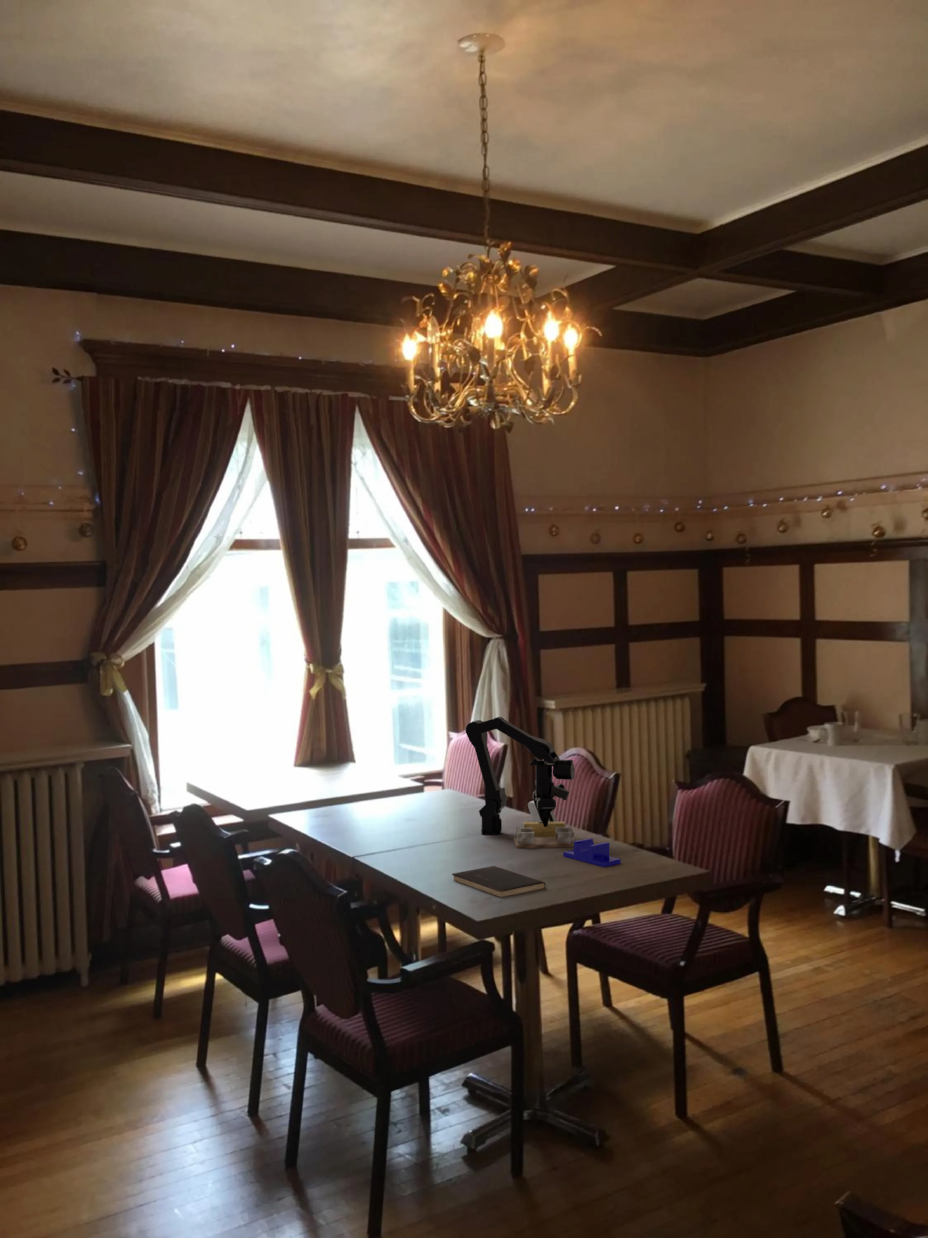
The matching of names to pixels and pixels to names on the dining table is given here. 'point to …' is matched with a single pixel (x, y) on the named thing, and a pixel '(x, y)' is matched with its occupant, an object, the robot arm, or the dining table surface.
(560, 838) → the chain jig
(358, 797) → the dining table surface
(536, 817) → the grey curved slab
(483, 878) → the hardcover book
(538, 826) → the brass link
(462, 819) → the dining table surface
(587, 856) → the mounting bracket
